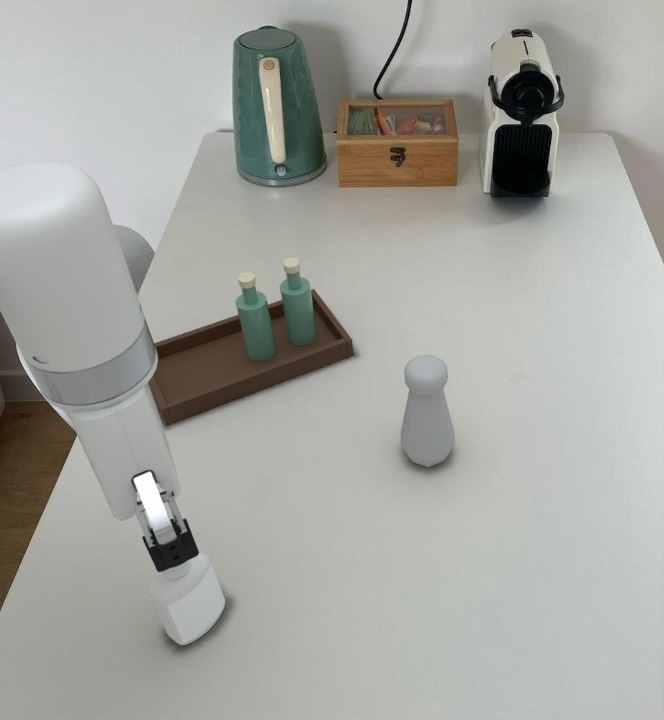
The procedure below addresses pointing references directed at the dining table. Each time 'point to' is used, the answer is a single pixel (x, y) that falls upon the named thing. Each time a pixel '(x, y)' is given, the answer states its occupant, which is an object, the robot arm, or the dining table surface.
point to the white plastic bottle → (188, 599)
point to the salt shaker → (426, 412)
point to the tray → (237, 361)
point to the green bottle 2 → (297, 305)
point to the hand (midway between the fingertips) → (160, 514)
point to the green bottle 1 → (255, 319)
